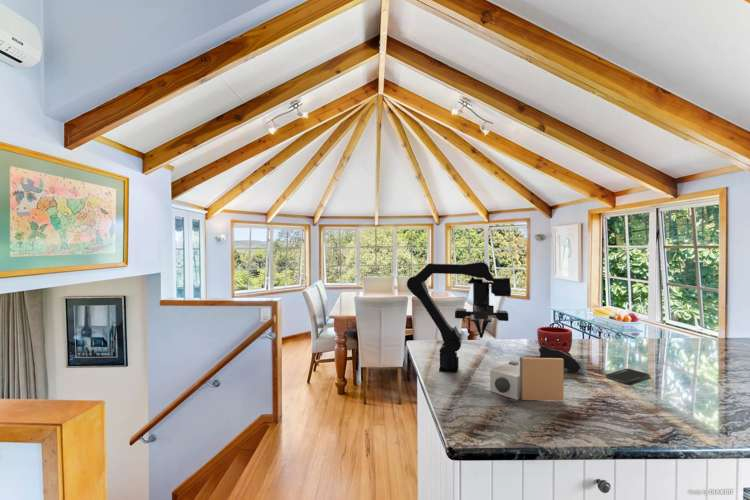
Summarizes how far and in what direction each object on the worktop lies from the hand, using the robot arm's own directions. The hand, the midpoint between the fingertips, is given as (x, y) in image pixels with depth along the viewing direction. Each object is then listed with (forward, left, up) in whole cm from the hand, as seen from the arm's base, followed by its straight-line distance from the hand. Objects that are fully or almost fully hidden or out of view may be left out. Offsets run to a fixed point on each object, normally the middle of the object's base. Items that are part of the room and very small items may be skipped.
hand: (481, 337), depth 133 cm
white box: (+10, -13, -13) cm, 21 cm away
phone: (+50, +10, -14) cm, 53 cm away
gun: (+28, +10, -13) cm, 33 cm away
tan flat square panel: (+18, -20, -12) cm, 29 cm away
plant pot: (+29, +27, -13) cm, 42 cm away
